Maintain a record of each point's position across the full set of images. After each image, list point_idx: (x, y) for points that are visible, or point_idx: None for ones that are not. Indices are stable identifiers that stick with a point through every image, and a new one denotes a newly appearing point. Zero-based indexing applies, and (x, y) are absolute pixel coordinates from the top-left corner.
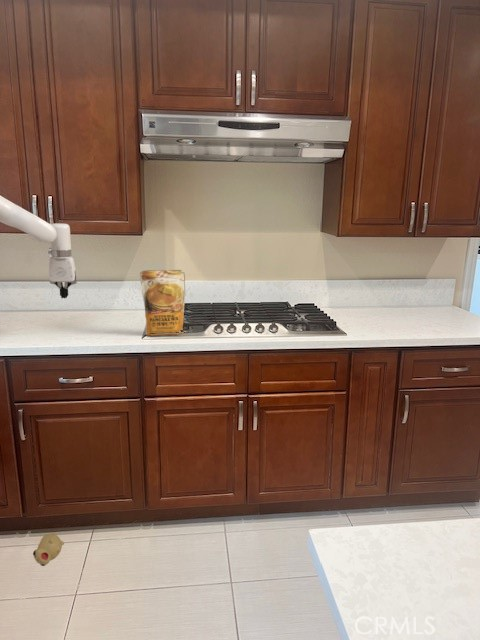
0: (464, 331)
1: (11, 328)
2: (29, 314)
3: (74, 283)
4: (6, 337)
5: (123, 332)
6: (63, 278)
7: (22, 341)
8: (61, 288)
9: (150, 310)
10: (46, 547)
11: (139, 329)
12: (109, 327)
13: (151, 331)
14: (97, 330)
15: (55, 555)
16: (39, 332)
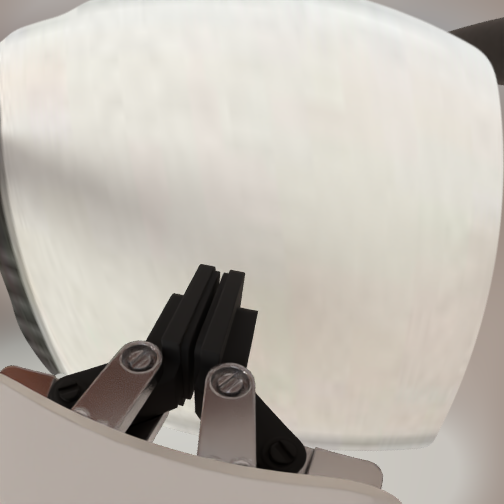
0: None
1: (469, 313)
2: (392, 423)
3: (19, 375)
4: (499, 204)
5: (49, 180)
6: (52, 479)
7: (451, 122)
8: (215, 374)
9: None
10: None
11: (20, 211)
12: (107, 255)
13: None
14: (139, 222)
15: None
16: (390, 243)
